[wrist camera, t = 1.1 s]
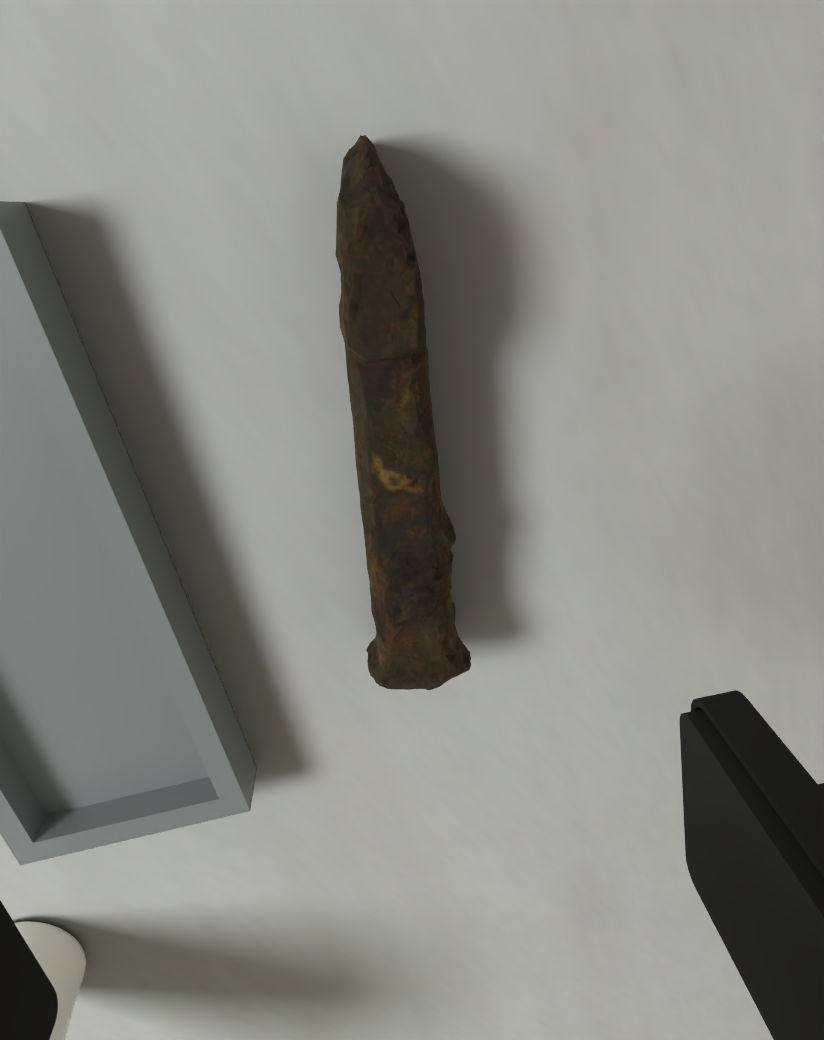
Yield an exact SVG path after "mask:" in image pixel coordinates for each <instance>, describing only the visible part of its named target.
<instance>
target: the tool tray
mask: <svg viewBox="0 0 824 1040" xmlns="http://www.w3.org/2000/svg"><path fill="white" fill-rule="evenodd" d="M256 770H257V768H256V765H255V763H254V760H253V758H252V756H251V753H250V751H249V748H248V746H247V743H246V741H245V738H244V736H243V734H242V731H241V729H240V726H239V724H238V721H237V719H236V717H235V714H234V712H233V709H232V707H231V704H230V702H229V699H228V697H227V695H226V692H225V690H224V687H223V685H222V682H221V680H220V677H219V675H218V673H217V670H216V668H215V665H214V663H213V660H212V658H211V656H210V653H209V651H208V648H207V646H206V643H205V641H204V638H203V636H202V634H201V631H200V629H199V626H198V624H197V621H196V619H195V617H194V614H193V612H192V609H191V607H190V604H189V602H188V599H187V597H186V595H185V592H184V590H183V587H182V585H181V582H180V580H179V578H178V575H177V573H176V570H175V568H174V565H173V563H172V560H171V558H170V556H169V553H168V551H167V548H166V546H165V543H164V541H163V539H162V536H161V534H160V531H159V529H158V526H157V524H156V521H155V519H154V517H153V514H152V512H151V509H150V507H149V504H148V502H147V500H146V497H145V495H144V492H143V490H142V487H141V485H140V482H139V480H138V478H137V475H136V473H135V470H134V468H133V465H132V463H131V461H130V458H129V456H128V453H127V451H126V448H125V446H124V443H123V441H122V439H121V436H120V434H119V431H118V429H117V426H116V424H115V421H114V419H113V417H112V414H111V412H110V409H109V407H108V404H107V402H106V400H105V397H104V395H103V392H102V390H101V387H100V385H99V382H98V380H97V378H96V375H95V373H94V370H93V368H92V365H91V363H90V361H89V358H88V356H87V353H86V351H85V348H84V346H83V343H82V341H81V339H80V336H79V334H78V331H77V329H76V326H75V324H74V322H73V319H72V317H71V314H70V312H69V309H68V307H67V304H66V302H65V300H64V297H63V295H62V292H61V290H60V287H59V285H58V283H57V280H56V278H55V275H54V273H53V270H52V268H51V265H50V263H49V261H48V258H47V256H46V253H45V251H44V248H43V246H42V244H41V241H40V239H39V236H38V234H37V231H36V229H35V226H34V224H33V222H32V219H31V217H30V214H29V212H28V209H27V207H26V205H25V202H0V834H1V835H2V837H3V839H4V840H5V842H6V843H7V845H8V846H9V848H10V850H11V851H12V853H13V854H14V856H15V857H16V859H17V861H18V862H19V864H20V865H23V864H27V863H32V862H36V861H40V860H44V859H49V858H53V857H57V856H61V855H66V854H70V853H74V852H78V851H83V850H87V849H91V848H95V847H99V846H104V845H108V844H112V843H116V842H121V841H125V840H129V839H133V838H138V837H142V836H146V835H150V834H154V833H159V832H163V831H167V830H171V829H176V828H180V827H184V826H188V825H193V824H197V823H201V822H205V821H209V820H214V819H218V818H222V817H226V816H231V815H235V814H239V813H243V812H248V811H250V808H251V802H252V796H253V789H254V783H255V777H256Z"/></svg>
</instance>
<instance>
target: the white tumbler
mask: <svg viewBox="0 0 824 1040" xmlns="http://www.w3.org/2000/svg"><path fill="white" fill-rule="evenodd" d="M14 924H15V925H16V927H17V928H18V930H19V932H20V933H21V935H22V937H23V938H24V940H25V941H26V943H27V945H28V946H29V948H30V950H31V951H32V953H33V954H34V956H35V958H36V959H37V961H38V963H39V964H40V966H41V967H42V969H43V971H44V972H45V974H46V976H47V977H48V979H49V980H50V982H51V984H52V985H53V987H54V989H55V991H56V993H57V999H58V1012H57V1018H56V1022H55V1025H54V1028H53V1031H52V1034H51V1036H50V1039H49V1040H65V1038H66V1034H67V1030H68V1027H69V1023H70V1019H71V1015H72V1012H73V1008H74V1004H75V1001H76V998H77V996H78V993H79V990H80V987H81V984H82V981H83V978H84V974H85V970H86V957H85V953H84V950H83V948H82V946H81V945H80V943H79V942H78V941H77V940H76V939H75V938H74V937H73V936H72V935H71V934H69V933H68V932H66V931H65V930H63V929H61V928H59V927H56V926H54V925H51V924H47V923H42V922H32V921H24V922H15V923H14Z"/></svg>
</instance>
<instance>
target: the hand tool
mask: <svg viewBox="0 0 824 1040" xmlns="http://www.w3.org/2000/svg"><path fill="white" fill-rule="evenodd" d="M336 258H337V261H338V264H339V268H340V271H341V284H342V285H341V300H340V304H339V316H340V328H341V332H342V335H343V338H344V342H345V349H346V362H347V374H348V383H349V391H350V402H351V410H352V415H353V425H354V441H355V455H356V467H357V477H358V485H359V492H360V505H361V514H362V521H363V527H364V536H365V546H366V557H367V569H368V574H369V580H370V593H371V608H372V614H373V617H374V620H375V625H376V632H377V633H376V638H375V639H374V640H373V641H372V642H371V643H370V644H369V646H368V648H367V650H366V651H367V652H368V669H369V672H370V675H371V676H372V677H373V678H374V679H375V682H376V683H377V684H379V686H383V687H385V688H387V689H427V690H431V689H434V688H437V687H440V686H441V685H442V684H444V683H445V682H446V681H448V680H450V679H451V678H453V677H456V676H458V675H460V674H462V673H464V672H466V671H468V670H469V669H470V666H471V662H470V660H471V657H470V652H469V651H468V649H467V648H466V647H465V645H464V644H463V643H462V641H461V640H460V638H459V637H458V633H457V630H456V627H455V624H454V620H455V607H454V603H453V602H452V601H451V594H450V589H451V573H452V568H451V565H452V560H453V555H452V553H451V550H450V549H451V546H452V545H453V544H454V542H455V532H454V528H453V525H452V523H451V521H450V519H449V517H448V515H447V513H446V511H445V509H444V507H443V504H442V500H441V494H440V482H439V468H438V456H437V449H436V442H435V434H434V426H433V418H432V404H431V398H430V385H429V364H428V350H427V348H426V346H425V341H426V330H425V324H424V319H425V316H424V300H423V295H422V284H421V278H420V273H419V268H418V263H417V258H416V253H415V249H414V244H413V240H412V236H411V232H410V227H409V221H408V218H407V216H406V213H405V207H404V203H403V202H402V201H400V199H399V196H398V194H397V192H396V190H395V186H394V184H393V181H392V179H391V178H390V177H389V176H388V175H387V174H386V172H385V170H384V168H383V166H382V164H381V162H380V159H379V157H378V154H377V152H376V149H375V147H374V144H373V143H372V142H371V141H370V140H369V139H368V138H367V137H366V136H365V135H364V136H360V137H359V139H358V140H357V142H356V144H355V145H354V146H353V147H352V148H351V149H349V151H348V152H347V154H346V156H345V157H344V160H343V168H342V176H341V189H340V193H339V197H338V201H337V237H336Z"/></svg>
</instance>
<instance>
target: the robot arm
mask: <svg viewBox="0 0 824 1040" xmlns="http://www.w3.org/2000/svg"><path fill="white" fill-rule="evenodd" d="M680 739H681V761H682V784H683V806H684V828H685V850H686V861H687V866H688V870H689V873H690V876H691V879H692V881H693V884H694V886H695V888H696V890H697V892H698V894H699V896H700V898H701V900H702V902H703V903H704V905H705V907H706V909H707V911H708V913H709V915H710V917H711V919H712V921H713V923H714V925H715V927H716V929H717V931H718V932H719V934H720V936H721V938H722V940H723V942H724V944H725V946H726V948H727V950H728V952H729V954H730V956H731V958H732V960H733V961H734V963H735V965H736V967H737V969H738V971H739V973H740V975H741V977H742V979H743V981H744V983H745V985H746V987H747V989H748V991H749V992H750V994H751V996H752V998H753V1000H754V1002H755V1004H756V1006H757V1008H758V1010H759V1012H760V1014H761V1016H762V1018H763V1020H764V1021H765V1023H766V1025H767V1027H768V1029H769V1031H770V1033H771V1035H772V1037H773V1039H774V1040H824V783H822V784H817V783H816V782H815V781H814V779H813V778H812V777H811V776H810V775H809V773H808V772H807V771H806V770H805V769H804V767H803V766H802V765H801V764H800V762H799V761H798V760H797V759H796V758H795V756H794V755H793V754H792V753H791V752H790V750H789V749H788V748H787V747H786V745H785V744H784V743H783V742H782V741H781V739H780V738H779V737H778V736H777V734H776V733H775V732H774V731H773V730H772V728H771V727H770V726H769V725H768V724H767V722H766V721H765V720H764V719H763V717H762V716H761V715H760V714H759V713H758V711H757V710H756V709H755V708H754V707H753V705H752V704H751V703H750V702H749V700H748V699H747V698H746V697H745V696H744V695H743V694H742V693H741V692H739V691H736V690H735V691H731V692H726V693H721V694H716V695H712V696H707V697H702V698H697V699H694V700H693V701H692V704H691V712H687V713H683V714H681V716H680ZM57 1012H58V999H57V993H56V991H55V989H54V987H53V985H52V984H51V982H50V980H49V979H48V977H47V976H46V974H45V972H44V971H43V969H42V967H41V966H40V964H39V963H38V961H37V959H36V958H35V956H34V954H33V953H32V951H31V950H30V948H29V946H28V945H27V943H26V941H25V940H24V938H23V937H22V935H21V933H20V932H19V930H18V928H17V927H16V925H15V924H14V922H13V920H12V919H11V917H10V915H9V914H8V912H7V911H6V909H5V907H4V906H3V904H2V902H1V901H0V1040H49V1039H50V1036H51V1034H52V1031H53V1028H54V1025H55V1022H56V1018H57Z"/></svg>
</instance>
